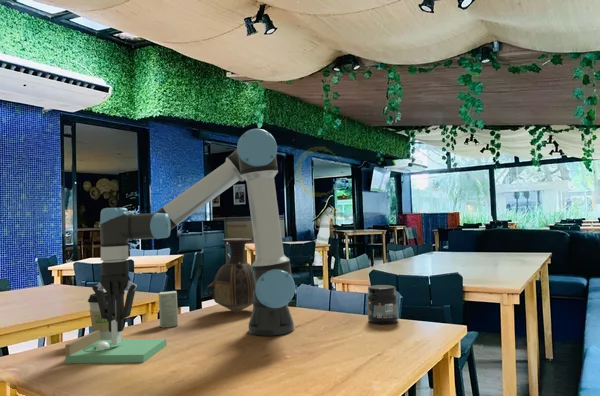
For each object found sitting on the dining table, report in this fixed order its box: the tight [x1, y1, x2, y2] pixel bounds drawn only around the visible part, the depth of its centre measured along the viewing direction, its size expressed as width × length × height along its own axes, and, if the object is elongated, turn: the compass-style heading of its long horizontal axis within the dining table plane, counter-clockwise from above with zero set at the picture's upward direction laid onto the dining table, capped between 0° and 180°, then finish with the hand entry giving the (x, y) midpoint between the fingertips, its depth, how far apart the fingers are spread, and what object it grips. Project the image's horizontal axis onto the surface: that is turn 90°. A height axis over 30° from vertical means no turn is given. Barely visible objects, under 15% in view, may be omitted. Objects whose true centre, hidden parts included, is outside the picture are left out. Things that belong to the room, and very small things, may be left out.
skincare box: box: [158, 290, 179, 328], centre depth 163 cm, size 6×4×12 cm
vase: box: [206, 237, 253, 314], centre depth 183 cm, size 23×19×30 cm
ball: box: [96, 341, 110, 350], centre depth 129 cm, size 4×4×4 cm
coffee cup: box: [87, 291, 116, 340], centre depth 145 cm, size 10×10×15 cm
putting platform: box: [64, 330, 167, 364], centre depth 129 cm, size 22×16×5 cm
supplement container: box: [366, 284, 399, 325], centre depth 157 cm, size 10×10×12 cm
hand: (116, 342), depth 129 cm, fingers closed
